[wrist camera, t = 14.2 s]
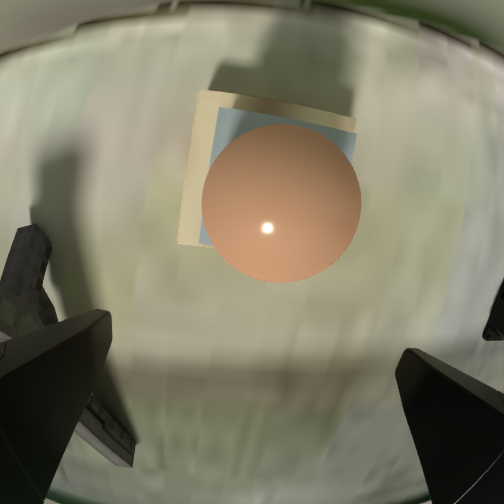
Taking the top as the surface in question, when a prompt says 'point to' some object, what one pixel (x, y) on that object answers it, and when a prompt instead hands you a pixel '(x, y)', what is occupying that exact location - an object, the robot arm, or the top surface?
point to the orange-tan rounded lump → (281, 203)
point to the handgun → (43, 314)
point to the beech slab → (204, 142)
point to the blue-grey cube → (241, 121)
